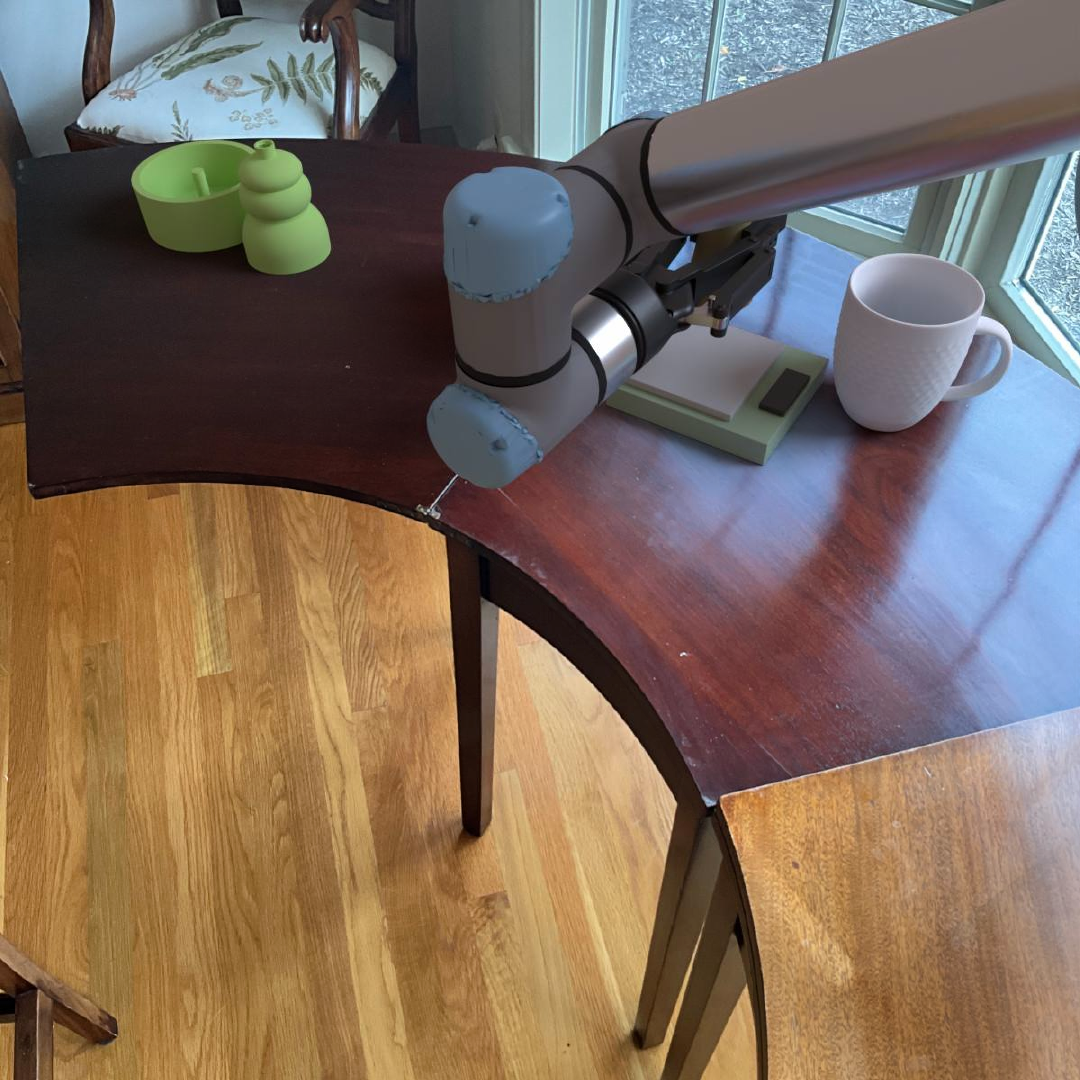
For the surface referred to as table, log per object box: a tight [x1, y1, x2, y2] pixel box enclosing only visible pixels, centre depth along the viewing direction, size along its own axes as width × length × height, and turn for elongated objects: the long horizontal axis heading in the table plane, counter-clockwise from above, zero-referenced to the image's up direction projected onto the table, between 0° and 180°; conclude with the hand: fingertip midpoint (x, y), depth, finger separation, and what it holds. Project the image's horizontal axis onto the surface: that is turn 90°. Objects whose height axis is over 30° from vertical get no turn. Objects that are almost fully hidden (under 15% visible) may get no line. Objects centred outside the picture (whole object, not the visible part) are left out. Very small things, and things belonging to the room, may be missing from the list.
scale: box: [605, 324, 830, 466], centre depth 93 cm, size 16×14×3 cm
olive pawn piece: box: [690, 222, 754, 310], centre depth 83 cm, size 6×6×11 cm
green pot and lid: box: [130, 139, 332, 276], centre depth 112 cm, size 25×14×13 cm, turn 54°
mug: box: [832, 252, 1014, 433], centre depth 87 cm, size 15×11×13 cm
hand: (758, 204), depth 85 cm, fingers closed on olive pawn piece, 4 cm apart
